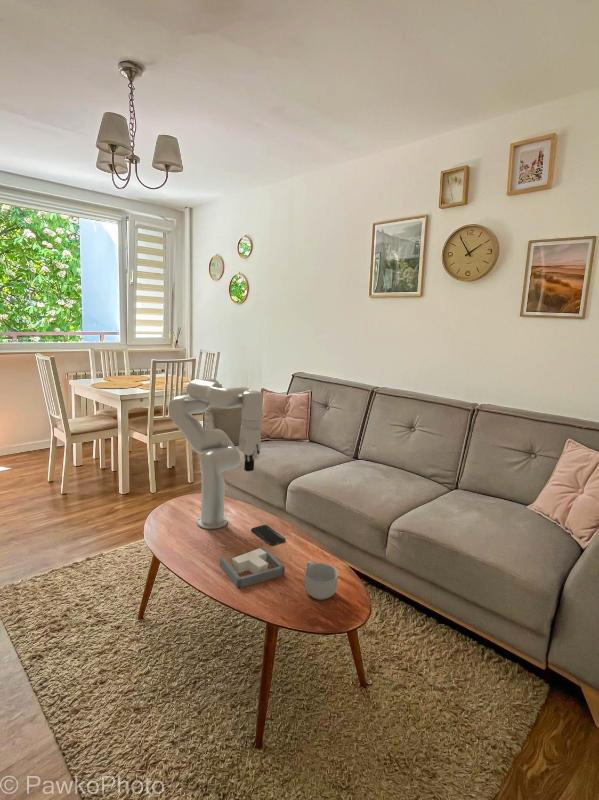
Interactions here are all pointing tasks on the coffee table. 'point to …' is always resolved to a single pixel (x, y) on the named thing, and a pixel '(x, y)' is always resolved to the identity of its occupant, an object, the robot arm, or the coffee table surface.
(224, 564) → the bay
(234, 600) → the coffee table surface
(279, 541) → the phone
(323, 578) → the teacup
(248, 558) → the t block
